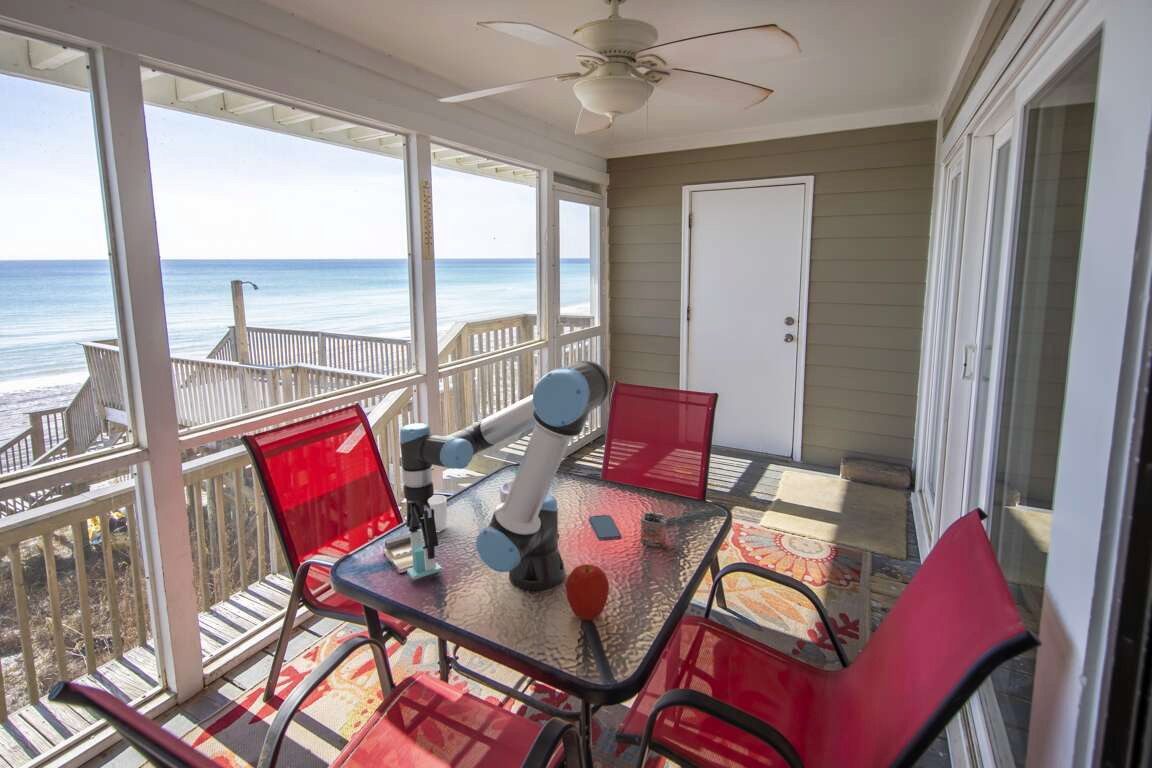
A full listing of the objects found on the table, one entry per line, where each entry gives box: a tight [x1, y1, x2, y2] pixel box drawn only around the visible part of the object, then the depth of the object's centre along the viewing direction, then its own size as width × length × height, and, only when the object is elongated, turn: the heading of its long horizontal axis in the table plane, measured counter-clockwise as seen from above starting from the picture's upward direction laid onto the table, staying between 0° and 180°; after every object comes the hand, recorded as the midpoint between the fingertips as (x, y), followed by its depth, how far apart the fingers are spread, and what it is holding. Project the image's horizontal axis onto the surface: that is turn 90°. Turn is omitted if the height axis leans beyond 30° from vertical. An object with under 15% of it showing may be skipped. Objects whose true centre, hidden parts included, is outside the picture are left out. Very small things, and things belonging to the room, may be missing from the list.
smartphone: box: [588, 514, 622, 541], centre depth 188 cm, size 8×2×15 cm
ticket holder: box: [382, 533, 413, 570], centre depth 169 cm, size 14×10×4 cm
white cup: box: [422, 494, 448, 531], centre depth 188 cm, size 8×8×10 cm
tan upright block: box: [639, 510, 667, 548], centre depth 177 cm, size 8×3×10 cm, turn 62°
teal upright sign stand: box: [406, 544, 443, 580], centre depth 159 cm, size 5×8×7 cm, turn 125°
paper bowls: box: [499, 479, 514, 504], centre depth 204 cm, size 15×15×8 cm
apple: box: [565, 563, 610, 621], centre depth 140 cm, size 10×10×14 cm
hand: (423, 560), depth 159 cm, fingers open, 9 cm apart
